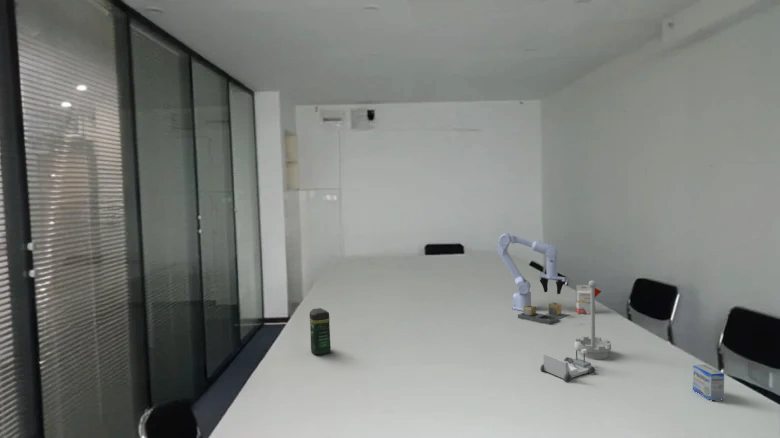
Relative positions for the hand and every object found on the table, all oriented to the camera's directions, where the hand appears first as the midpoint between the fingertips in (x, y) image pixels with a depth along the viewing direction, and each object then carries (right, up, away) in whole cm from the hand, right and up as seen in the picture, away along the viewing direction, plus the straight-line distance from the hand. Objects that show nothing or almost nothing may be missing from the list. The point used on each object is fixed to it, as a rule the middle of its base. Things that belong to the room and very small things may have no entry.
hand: (552, 292), depth 252 cm
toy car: (-23, -16, -83) cm, 87 cm away
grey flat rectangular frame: (-13, -11, -15) cm, 23 cm away
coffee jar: (-119, -17, -52) cm, 131 cm away
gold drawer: (-16, -11, -11) cm, 22 cm away
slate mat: (-2, -11, -9) cm, 14 cm away
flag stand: (-7, -14, -66) cm, 68 cm away
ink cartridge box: (+16, -10, -6) cm, 19 cm away
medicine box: (+12, -16, -105) cm, 107 cm away
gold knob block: (-2, -10, -9) cm, 14 cm away
